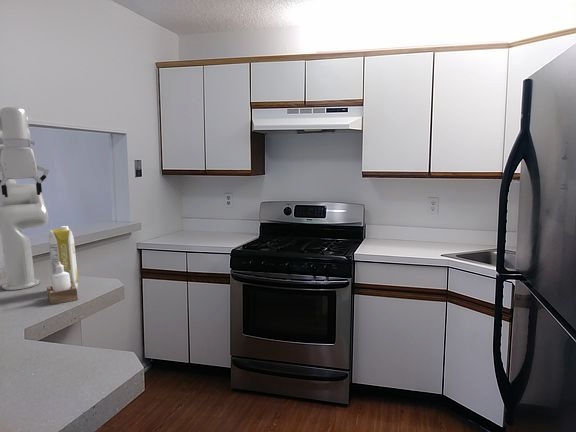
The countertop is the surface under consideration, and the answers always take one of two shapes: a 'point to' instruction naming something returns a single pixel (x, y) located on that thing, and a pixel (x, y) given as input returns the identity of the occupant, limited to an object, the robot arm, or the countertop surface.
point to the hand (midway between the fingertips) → (22, 195)
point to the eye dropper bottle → (60, 279)
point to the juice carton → (63, 252)
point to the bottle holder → (62, 295)
